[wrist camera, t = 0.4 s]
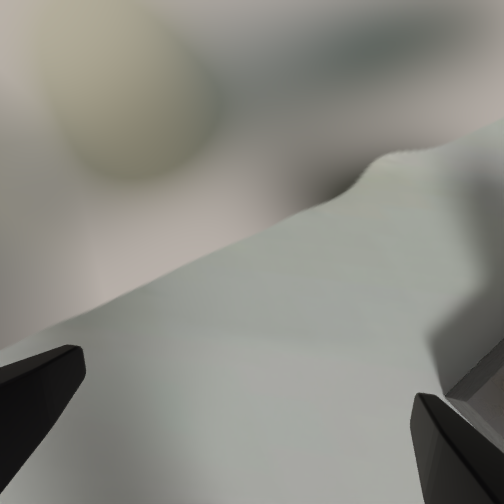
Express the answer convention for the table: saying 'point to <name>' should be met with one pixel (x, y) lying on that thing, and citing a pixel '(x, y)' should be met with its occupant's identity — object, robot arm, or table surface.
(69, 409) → the table surface
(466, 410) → the grey peg board
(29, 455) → the robot arm
